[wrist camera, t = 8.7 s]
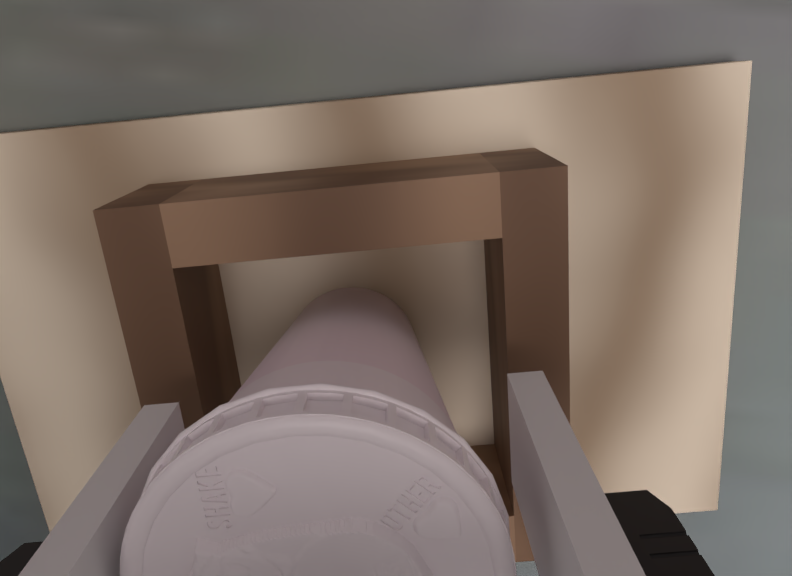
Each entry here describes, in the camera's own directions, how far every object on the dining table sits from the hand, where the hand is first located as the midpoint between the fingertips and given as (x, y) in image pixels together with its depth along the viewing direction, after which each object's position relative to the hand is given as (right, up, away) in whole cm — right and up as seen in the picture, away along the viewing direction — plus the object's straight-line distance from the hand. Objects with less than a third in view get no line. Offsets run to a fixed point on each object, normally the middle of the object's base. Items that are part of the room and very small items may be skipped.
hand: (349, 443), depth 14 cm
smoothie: (0, +2, +5) cm, 6 cm away
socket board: (0, +2, +6) cm, 6 cm away
